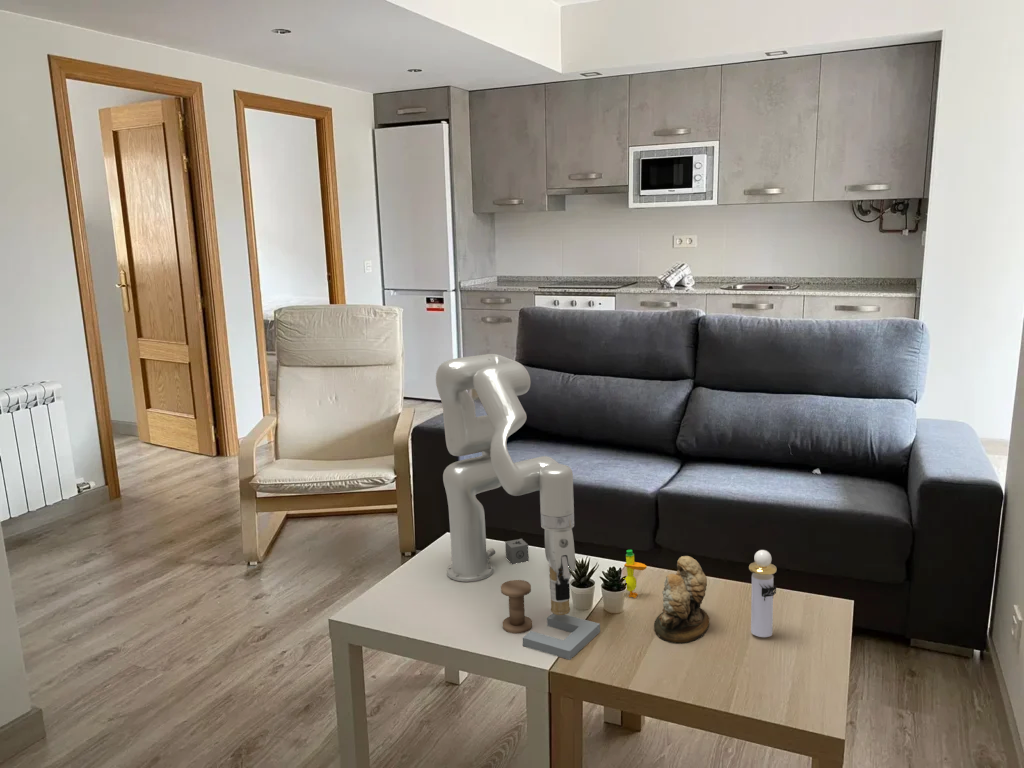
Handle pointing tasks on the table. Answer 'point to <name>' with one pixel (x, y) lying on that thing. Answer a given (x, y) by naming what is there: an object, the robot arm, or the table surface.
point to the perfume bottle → (762, 594)
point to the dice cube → (517, 551)
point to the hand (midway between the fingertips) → (559, 593)
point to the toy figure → (632, 572)
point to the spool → (516, 606)
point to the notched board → (563, 647)
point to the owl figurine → (683, 604)
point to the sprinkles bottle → (556, 606)
